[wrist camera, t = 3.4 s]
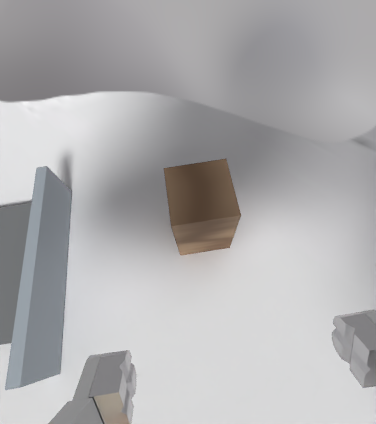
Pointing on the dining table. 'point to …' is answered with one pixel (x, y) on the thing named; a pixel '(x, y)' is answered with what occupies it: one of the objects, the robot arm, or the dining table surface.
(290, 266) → the dining table surface
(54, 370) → the acrylic wall
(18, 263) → the felt pad
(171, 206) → the walnut block
